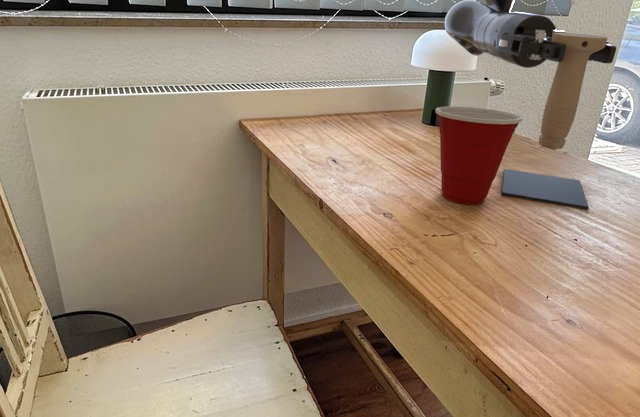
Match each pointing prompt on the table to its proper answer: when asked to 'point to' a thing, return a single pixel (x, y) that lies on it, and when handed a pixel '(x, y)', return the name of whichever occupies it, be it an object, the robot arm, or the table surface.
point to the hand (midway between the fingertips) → (587, 54)
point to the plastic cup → (472, 150)
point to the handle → (567, 87)
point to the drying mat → (543, 188)
